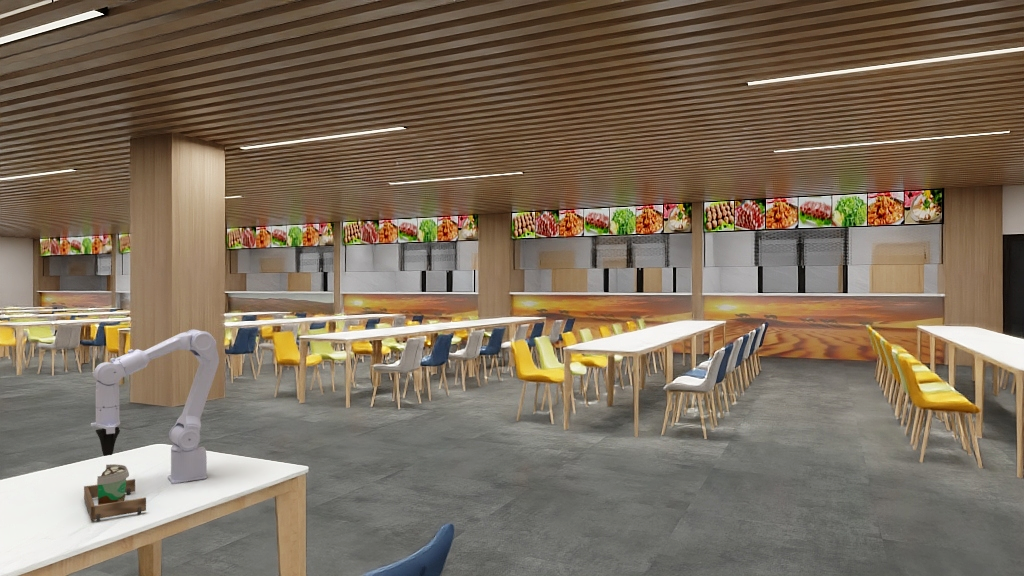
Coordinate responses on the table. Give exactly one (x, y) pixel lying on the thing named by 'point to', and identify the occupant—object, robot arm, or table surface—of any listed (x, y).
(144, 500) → the wooden u-shaped frame
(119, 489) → the food container
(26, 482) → the table surface
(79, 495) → the table surface
